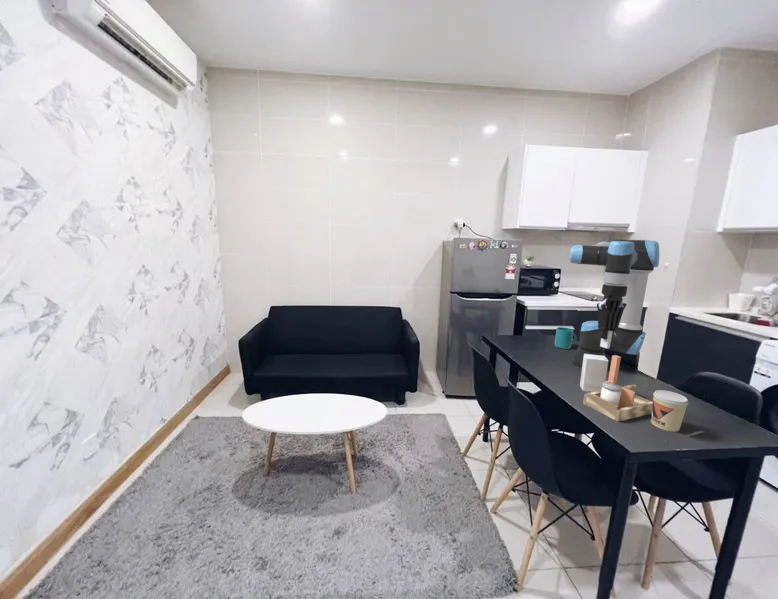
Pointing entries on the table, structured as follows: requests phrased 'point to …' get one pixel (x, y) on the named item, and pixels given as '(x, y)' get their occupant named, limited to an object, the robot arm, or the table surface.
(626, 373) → the table surface
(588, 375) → the skincare box
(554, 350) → the table surface
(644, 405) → the wooden tray
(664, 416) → the coffee cup
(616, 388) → the jar
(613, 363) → the pusher
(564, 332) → the cup
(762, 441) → the table surface
